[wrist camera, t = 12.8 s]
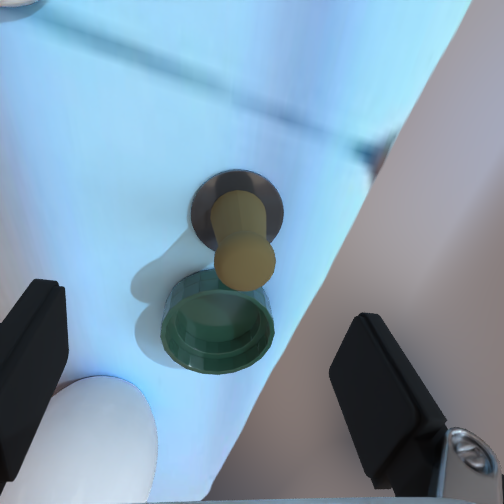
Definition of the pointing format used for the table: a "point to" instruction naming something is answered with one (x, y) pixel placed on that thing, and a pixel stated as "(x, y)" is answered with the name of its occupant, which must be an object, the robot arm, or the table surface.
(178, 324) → the bowl
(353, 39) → the table surface
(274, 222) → the coaster
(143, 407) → the pitcher
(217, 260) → the cork
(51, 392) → the robot arm
